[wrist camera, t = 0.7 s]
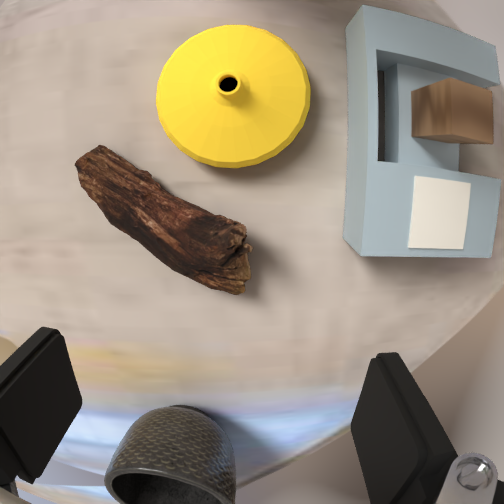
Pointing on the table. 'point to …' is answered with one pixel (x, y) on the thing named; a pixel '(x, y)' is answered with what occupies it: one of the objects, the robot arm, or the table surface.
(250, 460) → the table surface
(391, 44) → the slot box
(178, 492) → the planter
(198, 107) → the yellow piece
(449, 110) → the walnut block
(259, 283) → the table surface
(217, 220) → the driftwood
